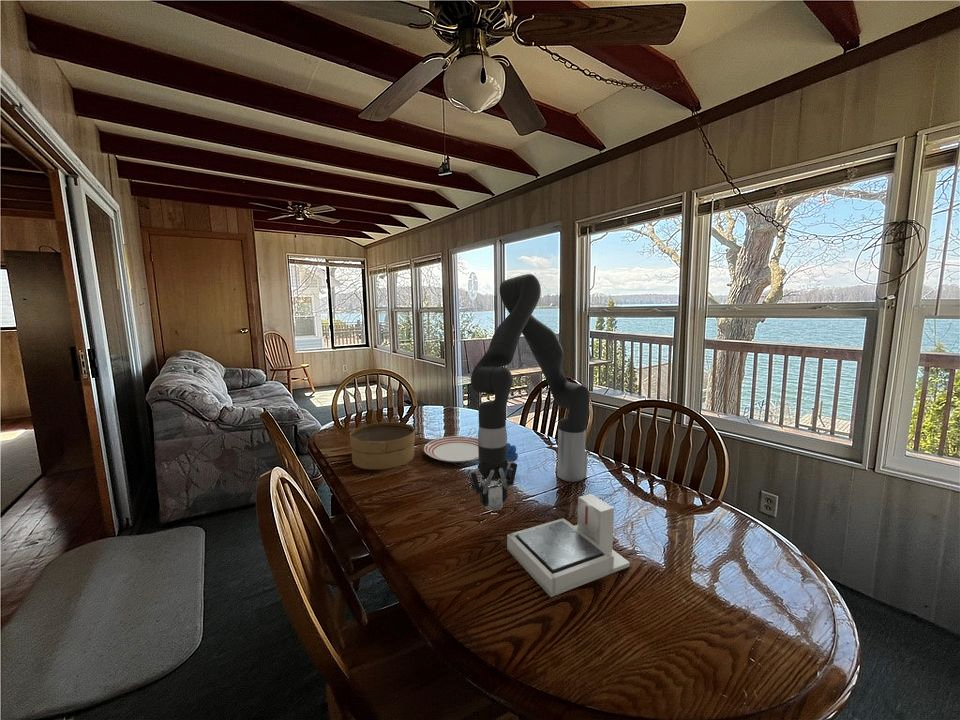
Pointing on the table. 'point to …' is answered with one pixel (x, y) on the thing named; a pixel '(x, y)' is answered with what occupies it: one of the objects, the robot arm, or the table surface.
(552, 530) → the scale pan
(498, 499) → the cylinder
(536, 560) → the scale
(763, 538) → the table surface
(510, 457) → the grapes
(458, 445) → the dinner plate
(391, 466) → the steamer basket
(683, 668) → the table surface
